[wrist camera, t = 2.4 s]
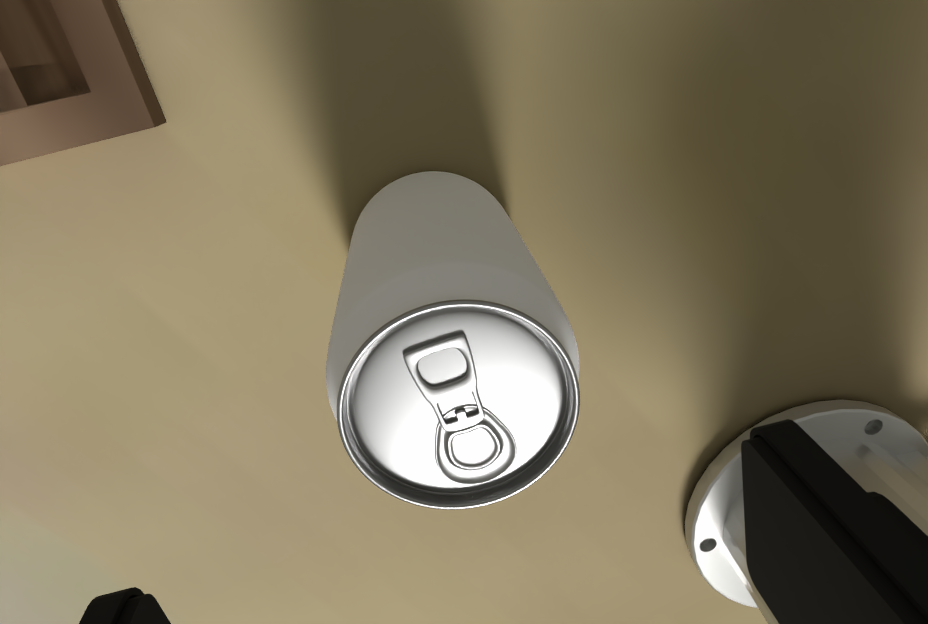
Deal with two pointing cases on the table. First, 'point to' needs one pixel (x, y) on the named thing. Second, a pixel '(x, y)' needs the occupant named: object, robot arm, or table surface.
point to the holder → (68, 77)
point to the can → (449, 349)
